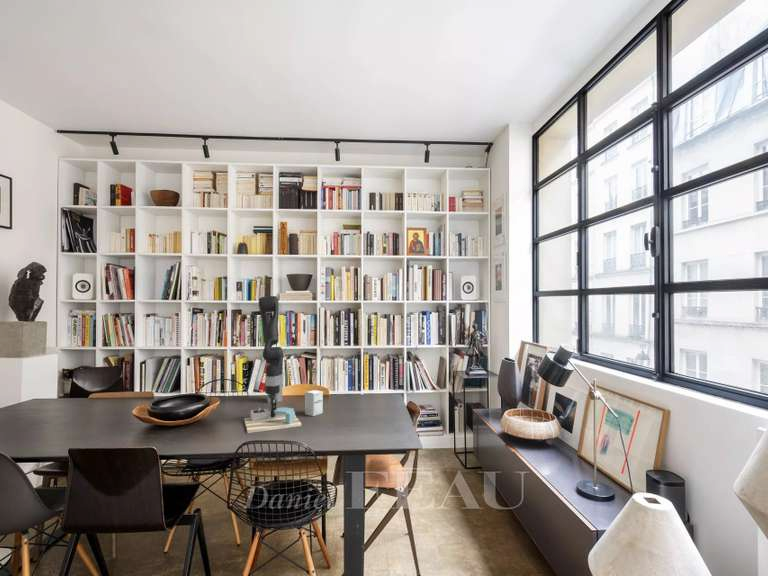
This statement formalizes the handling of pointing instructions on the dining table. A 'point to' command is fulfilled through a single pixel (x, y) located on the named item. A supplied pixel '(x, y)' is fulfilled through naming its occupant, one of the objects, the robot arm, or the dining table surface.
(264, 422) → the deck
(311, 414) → the supplement box
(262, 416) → the link
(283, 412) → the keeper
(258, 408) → the cylinder
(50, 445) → the dining table surface
